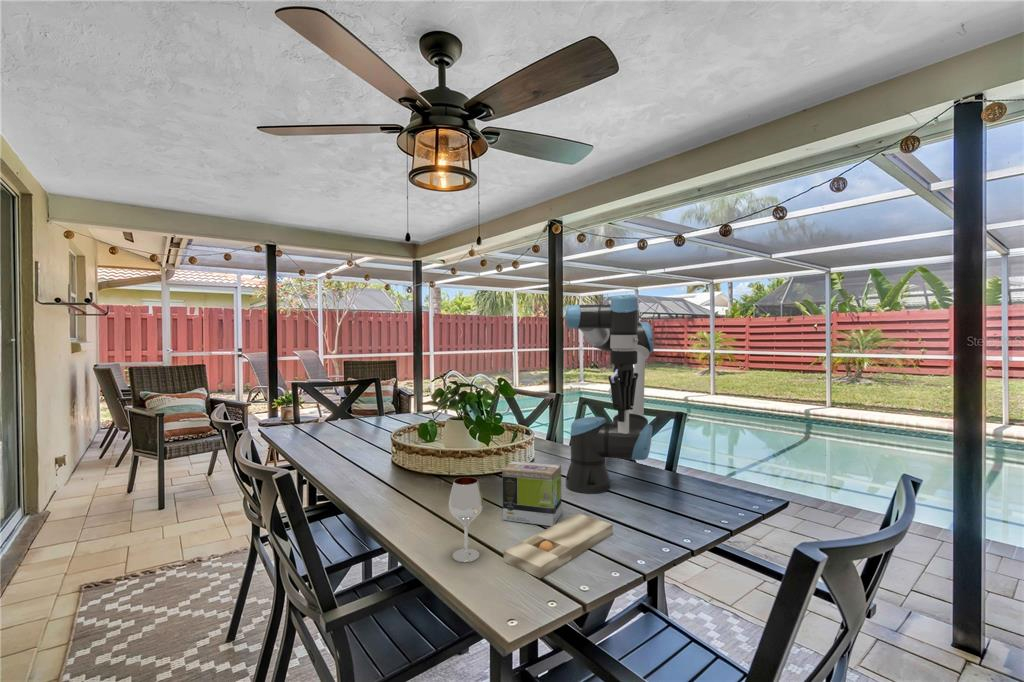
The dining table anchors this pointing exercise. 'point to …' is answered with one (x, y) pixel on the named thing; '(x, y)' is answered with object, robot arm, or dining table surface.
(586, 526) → the board
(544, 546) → the ball
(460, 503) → the wineglass
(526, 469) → the tea box
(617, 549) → the dining table surface
